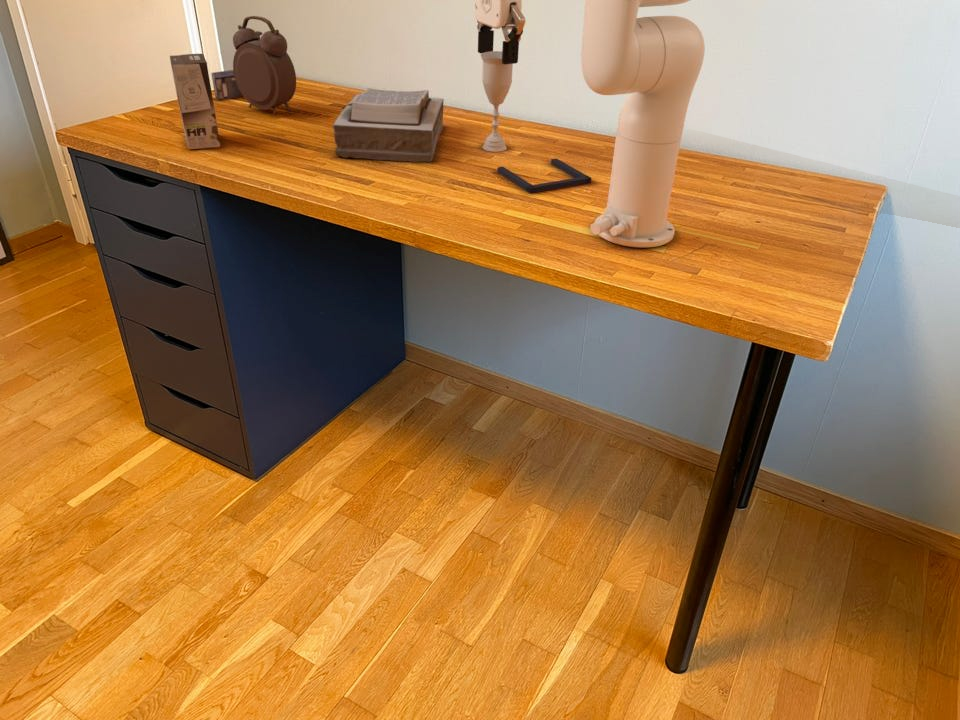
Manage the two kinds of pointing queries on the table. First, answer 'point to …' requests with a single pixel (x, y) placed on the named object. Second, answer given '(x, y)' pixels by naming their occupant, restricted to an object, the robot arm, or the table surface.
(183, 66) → the coffee box
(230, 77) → the mini dv tape
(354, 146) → the bible
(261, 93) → the alarm clock
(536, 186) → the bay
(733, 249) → the table surface
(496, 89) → the chalice
